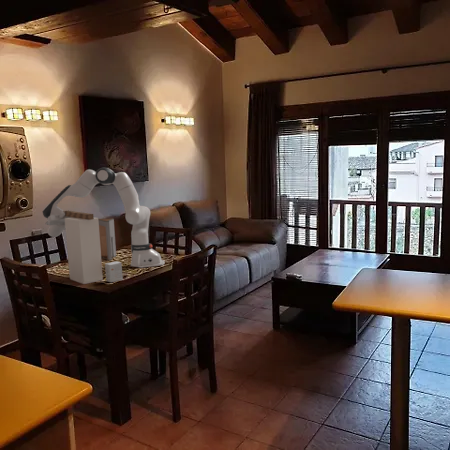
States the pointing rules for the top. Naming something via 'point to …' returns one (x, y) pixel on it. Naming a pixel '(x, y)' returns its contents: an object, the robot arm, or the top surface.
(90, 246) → the off-white pedestal
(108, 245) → the cabinet
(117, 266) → the small box
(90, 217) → the walnut bar
